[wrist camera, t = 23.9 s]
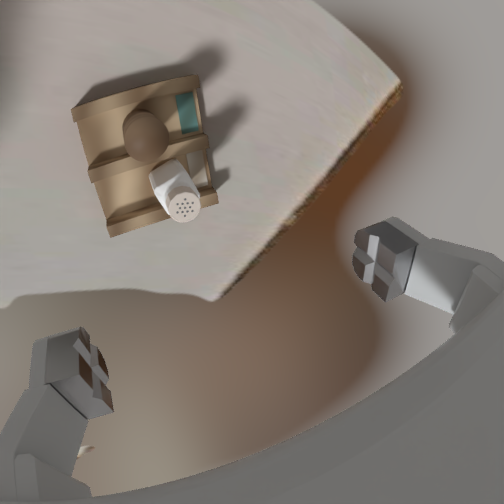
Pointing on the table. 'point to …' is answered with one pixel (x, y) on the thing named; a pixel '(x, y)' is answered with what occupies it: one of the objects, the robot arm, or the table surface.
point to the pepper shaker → (176, 191)
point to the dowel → (144, 135)
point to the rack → (136, 172)
